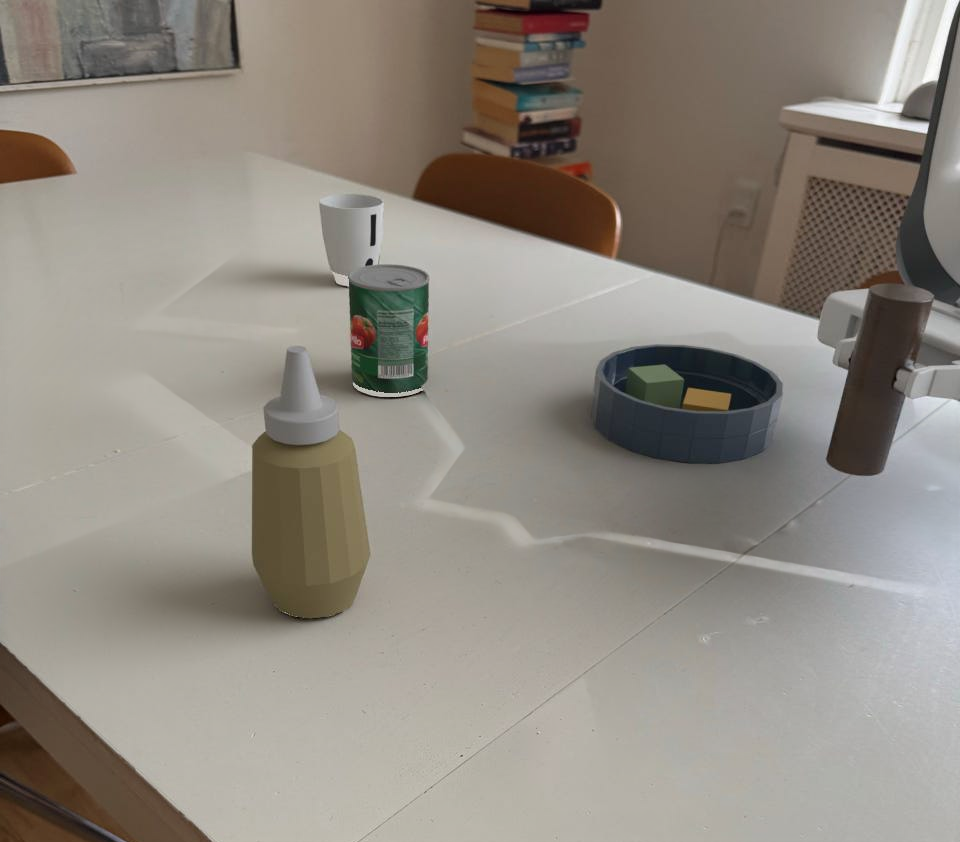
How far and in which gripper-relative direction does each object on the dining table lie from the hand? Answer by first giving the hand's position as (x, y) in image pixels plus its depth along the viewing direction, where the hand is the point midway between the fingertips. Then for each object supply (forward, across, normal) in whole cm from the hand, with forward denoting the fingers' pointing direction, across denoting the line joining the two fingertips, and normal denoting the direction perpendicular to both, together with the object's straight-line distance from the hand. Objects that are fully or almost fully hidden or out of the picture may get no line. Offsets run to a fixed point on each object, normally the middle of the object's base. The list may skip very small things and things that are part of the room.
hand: (872, 369), depth 66 cm
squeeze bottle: (+35, -14, +16) cm, 41 cm away
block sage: (-6, -29, +15) cm, 33 cm away
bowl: (-7, -26, +16) cm, 31 cm away
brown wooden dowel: (-1, 0, +7) cm, 7 cm away
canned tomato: (+13, -48, +16) cm, 52 cm away
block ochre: (-7, -22, +15) cm, 28 cm away
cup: (+2, -81, +16) cm, 83 cm away
